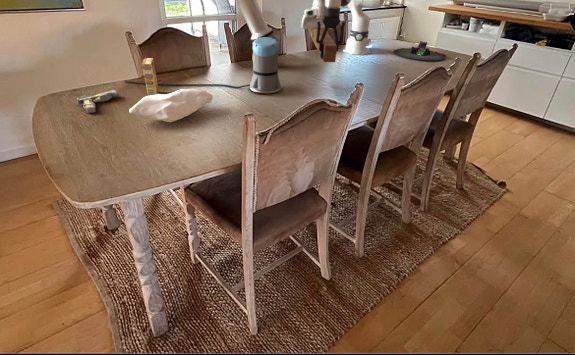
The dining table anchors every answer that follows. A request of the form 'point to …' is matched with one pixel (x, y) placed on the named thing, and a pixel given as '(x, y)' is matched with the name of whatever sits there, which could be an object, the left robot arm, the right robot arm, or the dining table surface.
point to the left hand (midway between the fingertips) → (327, 57)
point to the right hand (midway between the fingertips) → (318, 37)
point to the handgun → (95, 100)
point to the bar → (326, 46)
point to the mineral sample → (419, 53)
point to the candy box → (150, 76)
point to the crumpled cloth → (171, 104)
